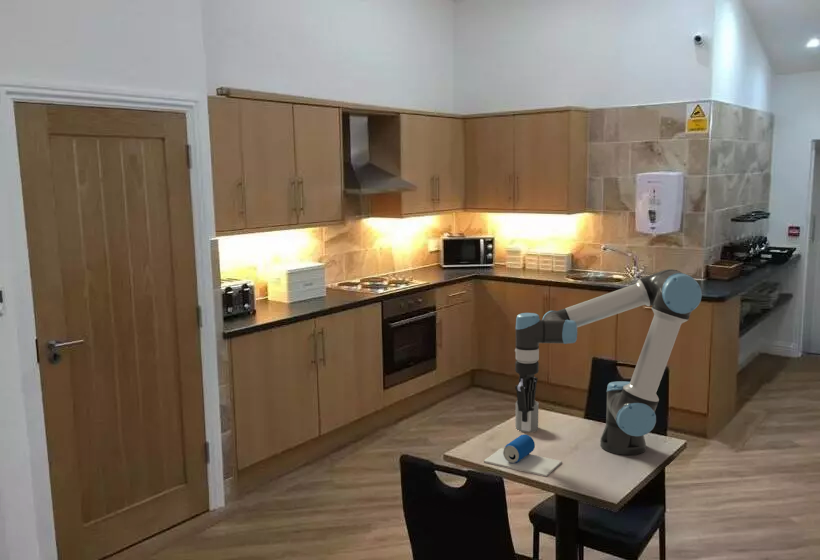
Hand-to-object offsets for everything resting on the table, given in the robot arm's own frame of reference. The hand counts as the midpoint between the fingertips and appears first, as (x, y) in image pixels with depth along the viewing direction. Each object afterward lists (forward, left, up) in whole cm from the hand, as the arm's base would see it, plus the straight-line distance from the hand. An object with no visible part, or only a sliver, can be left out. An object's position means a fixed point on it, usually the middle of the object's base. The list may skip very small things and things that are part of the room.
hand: (526, 429), depth 237 cm
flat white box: (0, +2, -10) cm, 11 cm away
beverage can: (+2, -5, -7) cm, 9 cm away
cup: (+12, -28, -11) cm, 32 cm away
